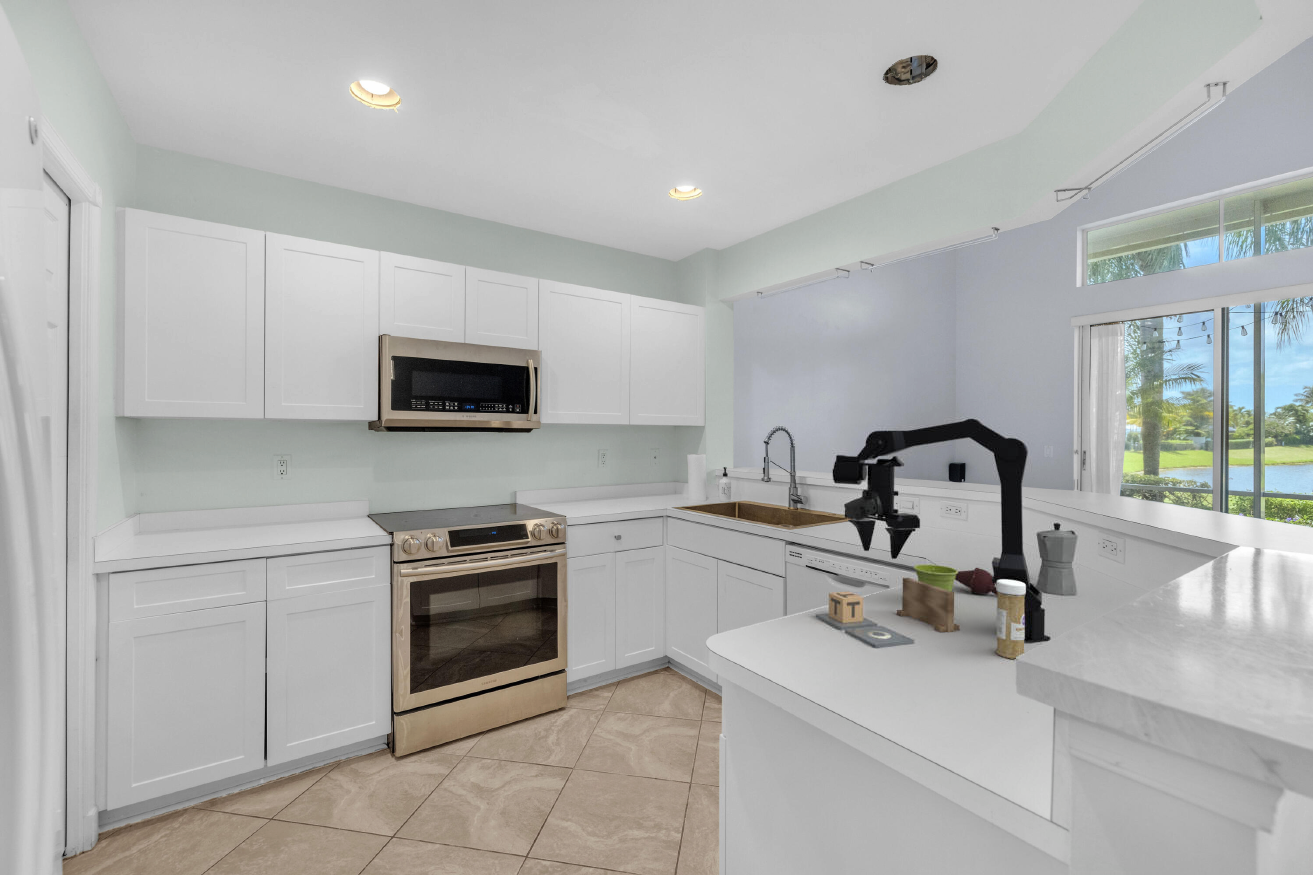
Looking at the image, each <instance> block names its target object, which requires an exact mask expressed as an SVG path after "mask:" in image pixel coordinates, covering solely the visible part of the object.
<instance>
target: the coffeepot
mask: <svg viewBox="0 0 1313 875" xmlns="http://www.w3.org/2000/svg"><path fill="white" fill-rule="evenodd" d="M1061 525H1062V524H1060V523H1059V522H1055V523H1053V529H1050V530H1043V531H1037V532H1036V539H1037V547H1038V552H1039V558H1040V559H1041V564H1040V568H1039V572H1038V579H1037V582H1036V586H1035V587H1036V588H1037V589H1038V590H1039V591H1040V592H1041V593H1045V594H1049V595H1056V596H1065V597H1068V596H1069V597H1070V596H1076V595H1077V594H1078V593H1077V592H1078V591H1077V585H1076V578H1075V575H1074V574H1075V573H1074V568H1073V562H1074V558H1075V553H1076V548H1077V543H1078V535H1077V534H1076V533H1075V530H1074V531H1073V530H1060V528H1061Z"/></svg>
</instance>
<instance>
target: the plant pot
mask: <svg viewBox="0 0 1313 875" xmlns="http://www.w3.org/2000/svg"><path fill="white" fill-rule="evenodd" d="M913 569H914V570H915V573H916V576H917V581H920V582H923V583H927V584H930V585H933V586H936V587H939V588H942V589H946V590H949V591H952V592H953V587H954V581H955V577H956V574H957V573H958V569H956V568H953V567H950V566H947V565H946V566H945V565H939V564H938V565H936V564H917V565H915V566H914V567H913Z"/></svg>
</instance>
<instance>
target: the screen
mask: <svg viewBox="0 0 1313 875" xmlns="http://www.w3.org/2000/svg"><path fill="white" fill-rule="evenodd" d="M901 601H902V607H901V608H902V609H897V610H896V615H897V616H899V617H909V618H912V619H916V621H919V622H922V623H924V624H926V625H930V626H932V627H934V631H936V632H938V633H946V632H947V633H950V632H951V633H952V632H955V631H960V629H961V628H960V624H957V623H955V592H954V591H953V590H952V591H949V590H946V589H942V588H939V587H936V586H933V585H930V584H927V583H923V582H920V581H918V579H914V578H911V577H902V600H901Z"/></svg>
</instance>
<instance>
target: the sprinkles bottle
mask: <svg viewBox="0 0 1313 875" xmlns="http://www.w3.org/2000/svg"><path fill="white" fill-rule="evenodd" d="M995 587H996V590H997V594H998V595H996V596H997V597H996V598H997V600H996V602H997V603H996V604H997V606H996V637H997V638H996V650H995V652H996V654H997V655H999V656H1001V657H1004V658H1005V659H1006V658H1007V659H1012V660H1016V659H1015V658H1016V657H1018V656H1019V655H1021V654H1023V653H1024V654H1025V642H1024V638H1025V614H1024V597H1025V595H1024V594H1026V585H1025V584H1024V583H1023V582H1020V581H1015V580H1006V579H1001V580H997V584H996V583H995Z"/></svg>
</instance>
